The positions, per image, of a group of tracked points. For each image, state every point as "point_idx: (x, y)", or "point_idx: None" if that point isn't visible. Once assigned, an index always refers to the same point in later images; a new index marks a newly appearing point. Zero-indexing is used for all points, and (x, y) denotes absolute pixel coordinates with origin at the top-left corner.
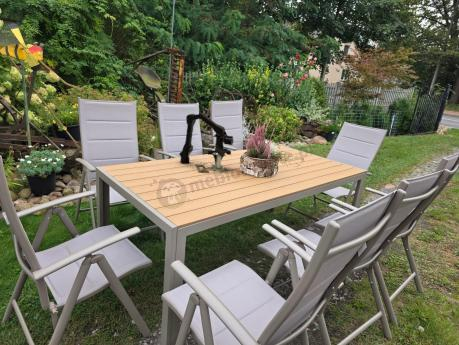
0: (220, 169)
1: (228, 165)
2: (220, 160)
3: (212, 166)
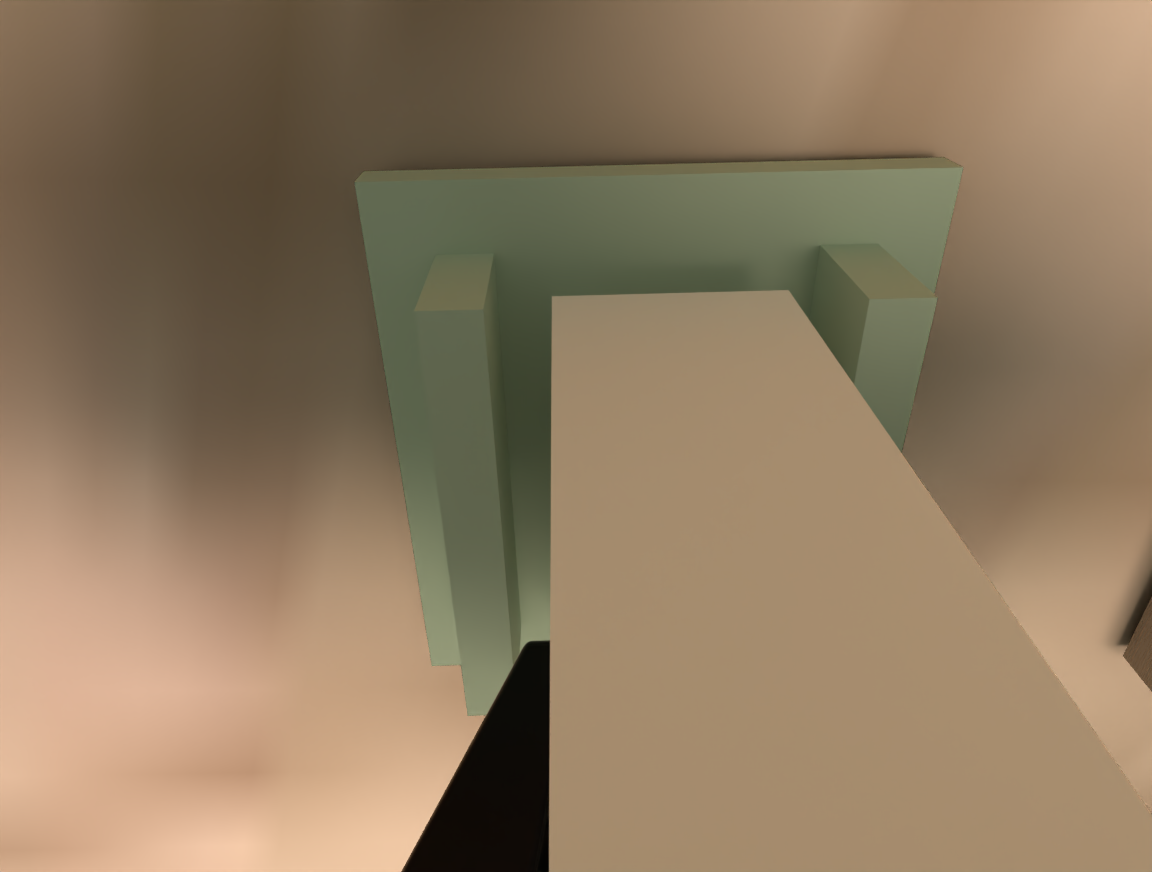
0: (564, 201)
1: (98, 776)
2: (635, 632)
3: None
